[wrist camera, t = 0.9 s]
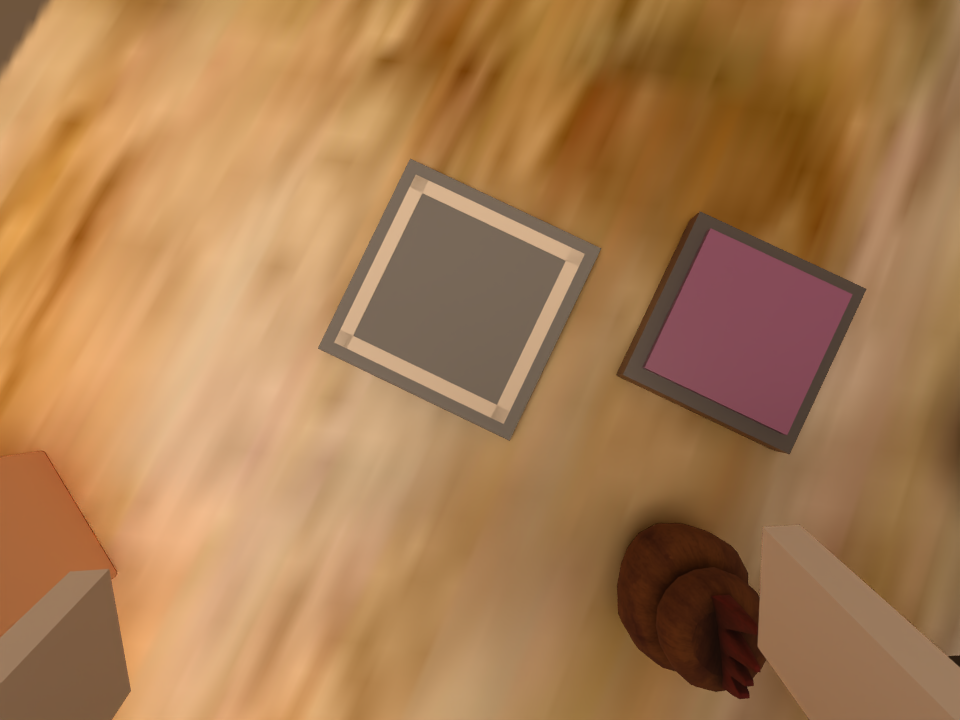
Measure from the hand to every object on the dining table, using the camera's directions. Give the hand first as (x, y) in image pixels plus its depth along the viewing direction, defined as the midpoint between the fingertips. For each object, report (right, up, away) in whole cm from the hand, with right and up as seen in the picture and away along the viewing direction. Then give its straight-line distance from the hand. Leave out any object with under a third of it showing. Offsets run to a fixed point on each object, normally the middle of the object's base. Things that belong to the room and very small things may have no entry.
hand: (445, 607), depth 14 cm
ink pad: (+15, +7, +26) cm, 31 cm away
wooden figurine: (+11, -7, +26) cm, 29 cm away
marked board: (0, +8, +26) cm, 28 cm away
